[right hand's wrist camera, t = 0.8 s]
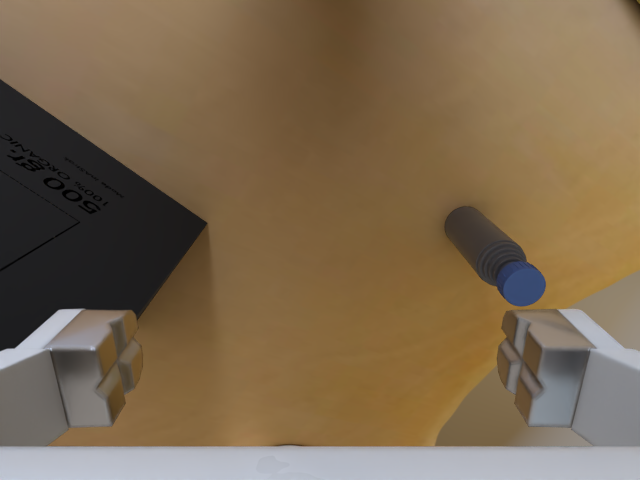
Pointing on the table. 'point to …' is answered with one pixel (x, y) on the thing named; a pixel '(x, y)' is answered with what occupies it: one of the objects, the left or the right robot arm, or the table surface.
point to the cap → (520, 283)
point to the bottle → (482, 243)
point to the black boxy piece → (76, 225)
